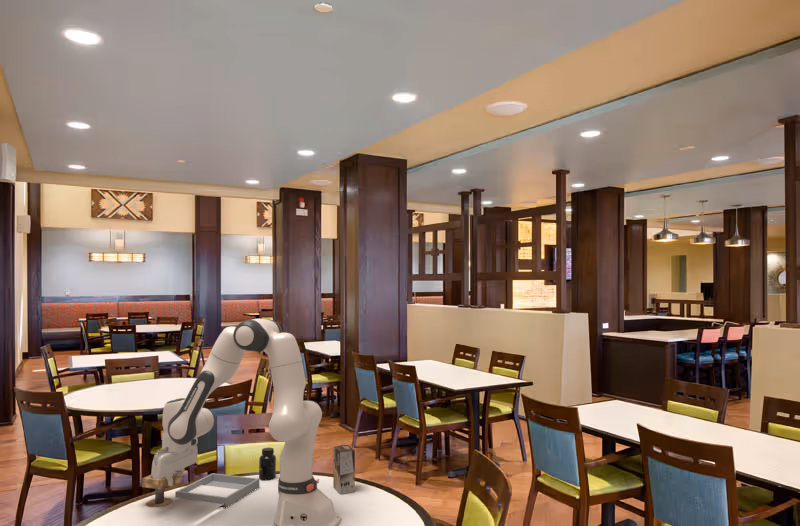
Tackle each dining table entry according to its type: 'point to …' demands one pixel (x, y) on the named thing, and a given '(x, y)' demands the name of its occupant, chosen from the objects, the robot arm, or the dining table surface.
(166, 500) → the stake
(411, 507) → the dining table surface
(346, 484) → the coffee box
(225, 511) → the dining table surface
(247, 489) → the tray
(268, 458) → the supplement bottle
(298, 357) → the robot arm
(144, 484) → the tabbed frame
